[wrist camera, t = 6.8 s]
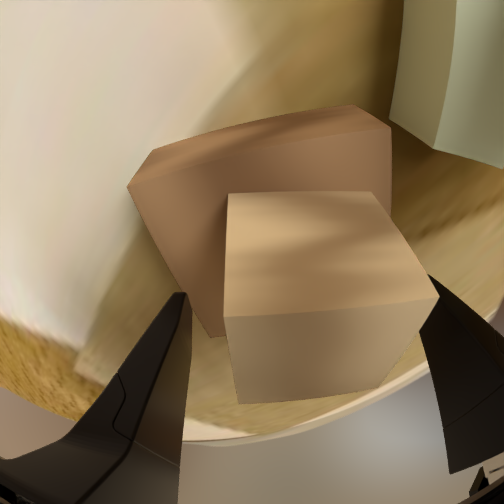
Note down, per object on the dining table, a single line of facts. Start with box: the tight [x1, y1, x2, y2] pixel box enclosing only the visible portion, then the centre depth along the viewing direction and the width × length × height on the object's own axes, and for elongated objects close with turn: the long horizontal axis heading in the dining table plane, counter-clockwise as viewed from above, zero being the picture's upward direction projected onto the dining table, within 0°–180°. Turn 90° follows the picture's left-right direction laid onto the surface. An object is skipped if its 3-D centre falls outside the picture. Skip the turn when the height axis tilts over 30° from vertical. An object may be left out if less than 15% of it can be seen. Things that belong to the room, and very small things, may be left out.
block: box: [389, 0, 504, 169], centre depth 7 cm, size 4×9×4 cm, turn 177°
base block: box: [127, 104, 392, 338], centre depth 13 cm, size 9×9×4 cm
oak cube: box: [224, 191, 440, 404], centre depth 9 cm, size 5×5×5 cm
